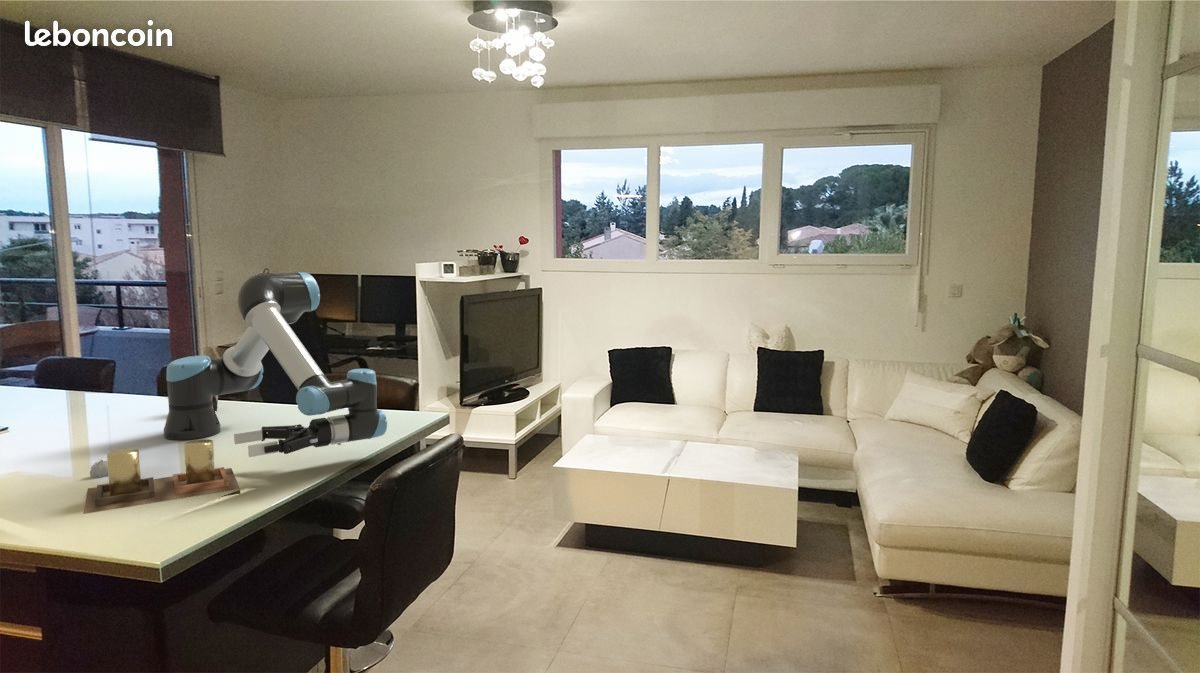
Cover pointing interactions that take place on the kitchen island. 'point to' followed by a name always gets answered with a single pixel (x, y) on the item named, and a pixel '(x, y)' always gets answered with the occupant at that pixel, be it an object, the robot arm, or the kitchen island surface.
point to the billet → (124, 471)
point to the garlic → (99, 469)
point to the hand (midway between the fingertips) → (241, 444)
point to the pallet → (160, 491)
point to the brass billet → (199, 461)
